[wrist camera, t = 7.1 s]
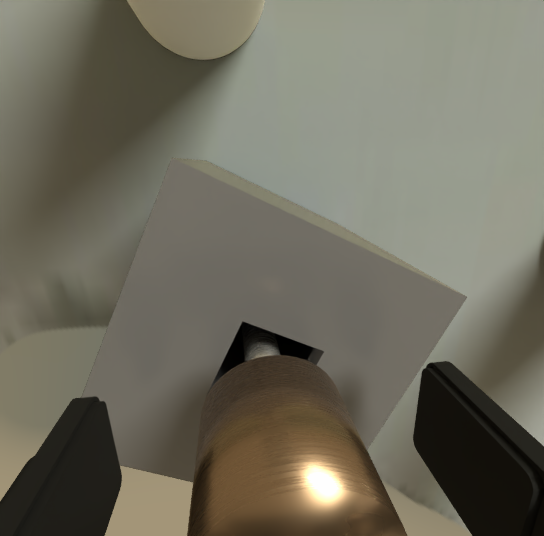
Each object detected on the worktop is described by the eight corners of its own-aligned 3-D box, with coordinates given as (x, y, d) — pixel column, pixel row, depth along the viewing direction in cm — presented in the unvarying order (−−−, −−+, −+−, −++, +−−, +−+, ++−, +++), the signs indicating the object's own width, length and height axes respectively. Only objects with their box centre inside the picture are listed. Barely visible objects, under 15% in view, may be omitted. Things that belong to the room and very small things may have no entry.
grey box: (338, 224, 26) (467, 296, 12) (278, 339, 28) (325, 513, 14) (206, 160, 23) (171, 157, 9) (152, 294, 26) (60, 451, 12)
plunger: (315, 237, 25) (580, 468, 6) (271, 324, 26) (370, 711, 8) (218, 192, 23) (169, 326, 4) (177, 289, 25) (15, 687, 6)
